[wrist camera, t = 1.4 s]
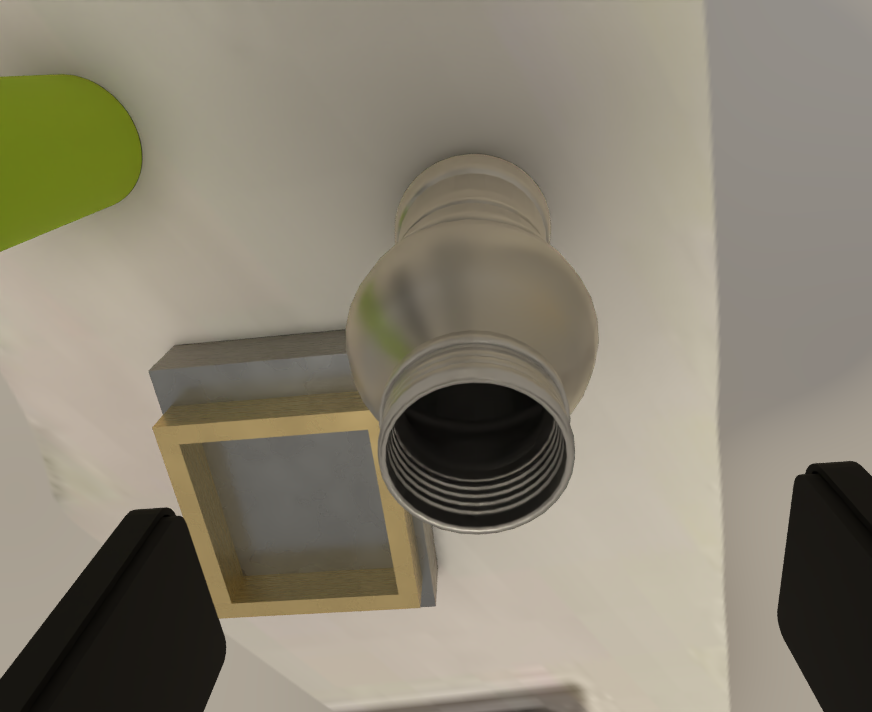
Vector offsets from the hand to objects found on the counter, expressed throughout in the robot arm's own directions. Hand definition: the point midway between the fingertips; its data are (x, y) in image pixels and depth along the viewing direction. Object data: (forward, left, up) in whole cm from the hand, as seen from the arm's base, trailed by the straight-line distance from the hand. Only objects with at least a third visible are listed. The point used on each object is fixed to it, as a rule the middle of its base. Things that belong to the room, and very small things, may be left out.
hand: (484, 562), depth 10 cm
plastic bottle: (0, 0, -23) cm, 23 cm away
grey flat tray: (+13, -10, -22) cm, 28 cm away
